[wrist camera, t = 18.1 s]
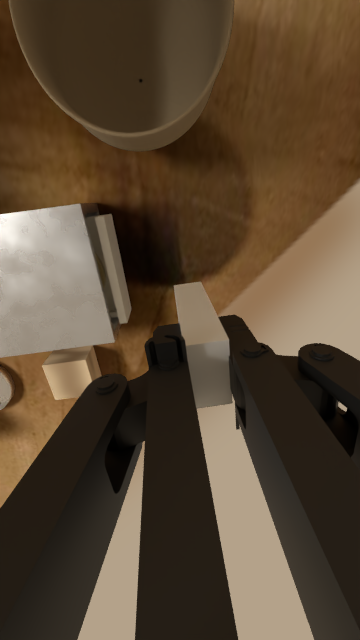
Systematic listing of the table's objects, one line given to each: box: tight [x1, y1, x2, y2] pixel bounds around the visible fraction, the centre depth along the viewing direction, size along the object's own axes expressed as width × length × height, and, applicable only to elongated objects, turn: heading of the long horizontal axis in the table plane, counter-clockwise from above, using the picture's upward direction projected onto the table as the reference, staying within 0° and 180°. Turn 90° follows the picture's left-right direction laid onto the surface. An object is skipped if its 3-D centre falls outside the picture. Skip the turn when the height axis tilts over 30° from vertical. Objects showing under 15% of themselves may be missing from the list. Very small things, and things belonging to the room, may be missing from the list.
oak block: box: [42, 345, 102, 400], centre depth 34 cm, size 5×5×4 cm
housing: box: [0, 203, 121, 357], centre depth 28 cm, size 15×13×6 cm
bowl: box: [8, 0, 234, 151], centre depth 19 cm, size 13×13×10 cm
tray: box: [86, 214, 132, 324], centre depth 28 cm, size 15×11×4 cm
